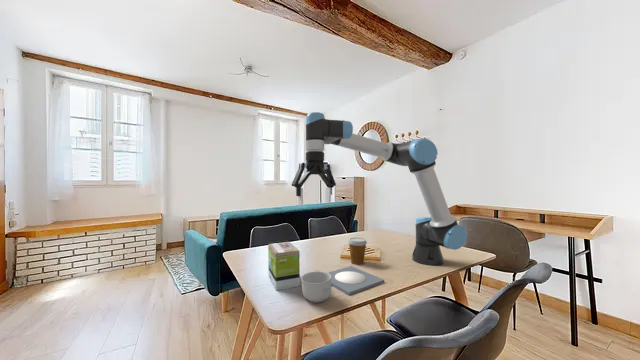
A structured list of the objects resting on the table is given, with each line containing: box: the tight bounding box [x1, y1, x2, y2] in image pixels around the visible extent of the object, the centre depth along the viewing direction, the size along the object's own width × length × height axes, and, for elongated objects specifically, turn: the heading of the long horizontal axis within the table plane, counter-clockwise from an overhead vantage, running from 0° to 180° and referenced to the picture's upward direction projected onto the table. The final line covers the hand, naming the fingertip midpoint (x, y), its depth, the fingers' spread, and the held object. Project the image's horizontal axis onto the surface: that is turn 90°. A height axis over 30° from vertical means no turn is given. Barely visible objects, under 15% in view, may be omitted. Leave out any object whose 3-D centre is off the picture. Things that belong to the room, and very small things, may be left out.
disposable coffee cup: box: [348, 237, 368, 266], centre depth 125 cm, size 10×10×12 cm
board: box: [327, 265, 385, 296], centre depth 103 cm, size 20×20×1 cm
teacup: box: [300, 269, 332, 303], centre depth 89 cm, size 14×11×8 cm
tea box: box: [267, 241, 301, 291], centre depth 102 cm, size 15×10×15 cm, turn 23°
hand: (314, 203), depth 99 cm, fingers open, 13 cm apart
